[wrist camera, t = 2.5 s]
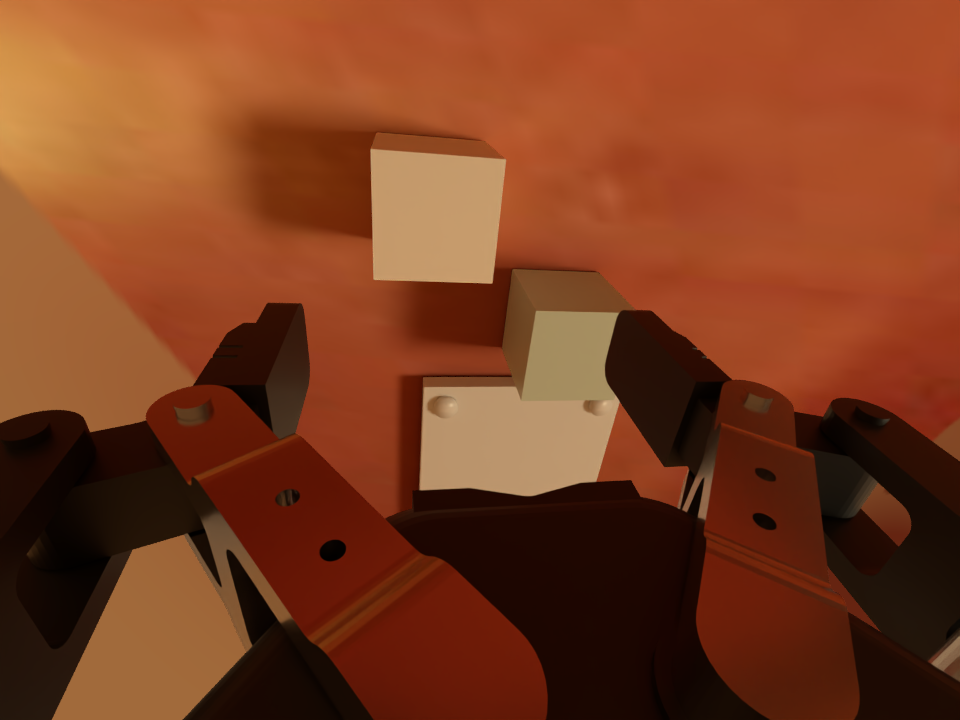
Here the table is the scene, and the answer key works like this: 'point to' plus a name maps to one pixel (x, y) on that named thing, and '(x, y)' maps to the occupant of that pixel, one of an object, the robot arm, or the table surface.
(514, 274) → the sage brick
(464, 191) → the cream brick
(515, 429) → the baseplate
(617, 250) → the table surface
